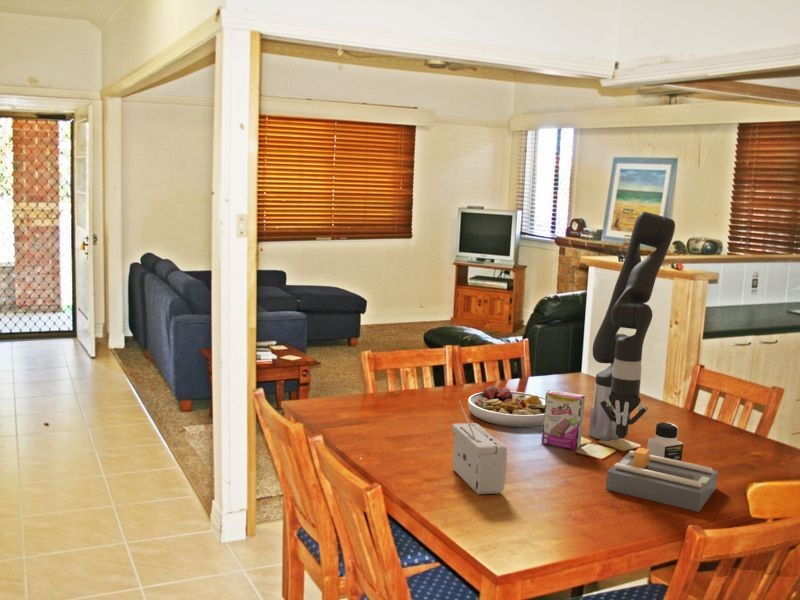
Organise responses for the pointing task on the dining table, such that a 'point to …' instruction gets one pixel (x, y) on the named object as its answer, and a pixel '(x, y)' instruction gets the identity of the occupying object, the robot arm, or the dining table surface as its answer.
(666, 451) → the medicine bottle
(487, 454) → the stereo radio cassette player
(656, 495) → the grey rail box
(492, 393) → the bowl
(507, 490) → the dining table surface
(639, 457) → the orange block
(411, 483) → the dining table surface
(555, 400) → the candy bar box
